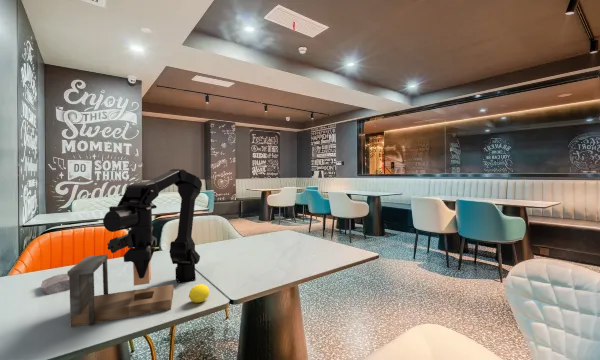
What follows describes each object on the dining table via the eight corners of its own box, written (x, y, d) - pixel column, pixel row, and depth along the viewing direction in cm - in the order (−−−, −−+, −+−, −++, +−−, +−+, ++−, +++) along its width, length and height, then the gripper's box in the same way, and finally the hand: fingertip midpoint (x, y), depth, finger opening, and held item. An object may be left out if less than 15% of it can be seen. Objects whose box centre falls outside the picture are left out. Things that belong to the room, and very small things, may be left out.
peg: (150, 278, 86) (150, 250, 86) (149, 283, 82) (148, 254, 82) (136, 280, 85) (135, 252, 84) (133, 285, 81) (133, 255, 81)
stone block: (45, 302, 91) (82, 286, 99) (41, 288, 91) (78, 274, 98) (42, 293, 99) (76, 279, 107) (37, 281, 99) (72, 268, 106)
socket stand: (173, 291, 93) (172, 247, 93) (170, 311, 80) (169, 259, 80) (88, 305, 84) (86, 256, 84) (68, 329, 71) (67, 271, 71)
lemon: (202, 297, 90) (204, 280, 91) (212, 301, 87) (214, 284, 87) (183, 302, 84) (184, 285, 85) (193, 307, 81) (195, 289, 82)
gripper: (117, 222, 89) (119, 269, 89) (100, 233, 72) (102, 292, 72) (156, 219, 93) (157, 264, 93) (148, 229, 76) (150, 285, 76)
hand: (142, 275), depth 84 cm, fingers closed on peg, 4 cm apart
